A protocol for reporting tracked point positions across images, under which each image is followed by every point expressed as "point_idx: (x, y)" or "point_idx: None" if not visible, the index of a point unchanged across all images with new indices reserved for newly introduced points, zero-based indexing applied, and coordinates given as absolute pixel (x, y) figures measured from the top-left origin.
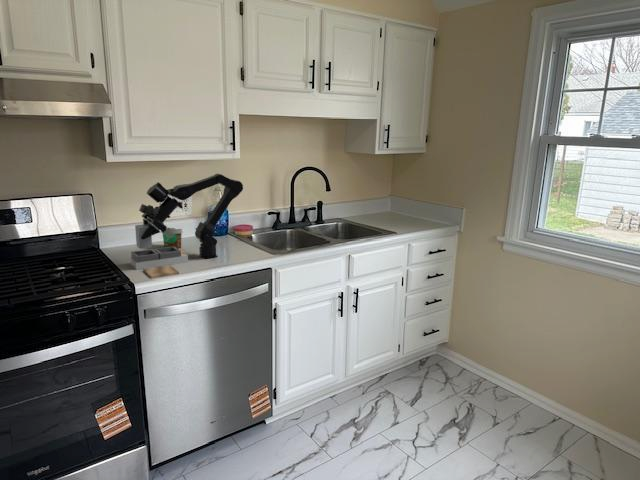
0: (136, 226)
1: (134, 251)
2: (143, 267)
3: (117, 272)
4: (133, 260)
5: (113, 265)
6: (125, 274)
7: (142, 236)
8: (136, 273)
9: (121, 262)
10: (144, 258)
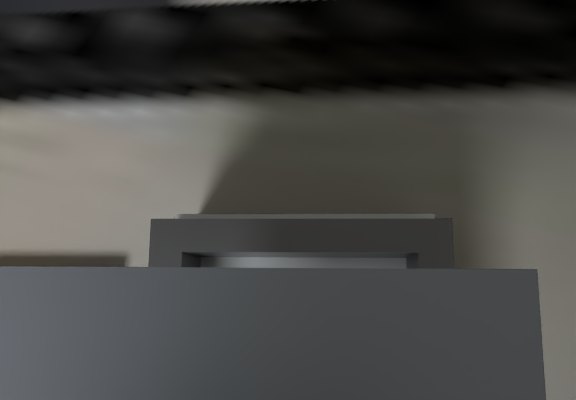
0: (290, 270)
1: (451, 267)
2: None
3: (209, 54)
4: (288, 215)
5: (468, 68)
6: (109, 101)
7: None
8: (81, 194)
9: (546, 159)
10: None
